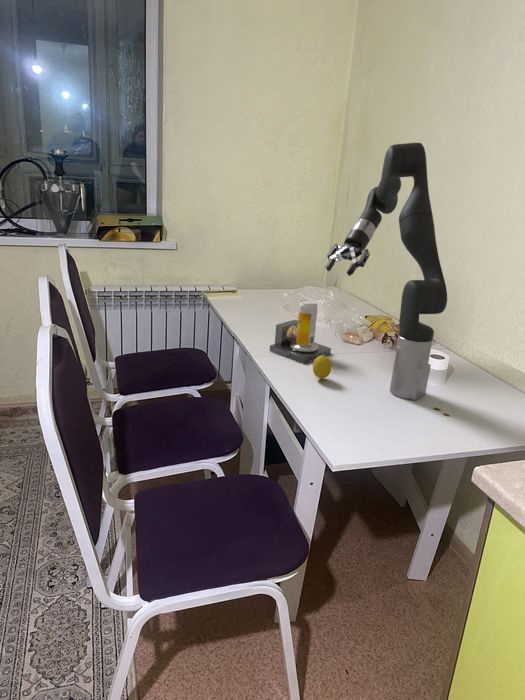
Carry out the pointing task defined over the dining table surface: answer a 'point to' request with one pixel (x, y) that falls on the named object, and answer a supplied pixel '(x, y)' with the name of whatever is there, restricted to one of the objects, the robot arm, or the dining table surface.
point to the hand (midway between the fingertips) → (337, 271)
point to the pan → (298, 348)
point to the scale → (289, 333)
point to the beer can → (306, 323)
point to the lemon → (322, 366)
